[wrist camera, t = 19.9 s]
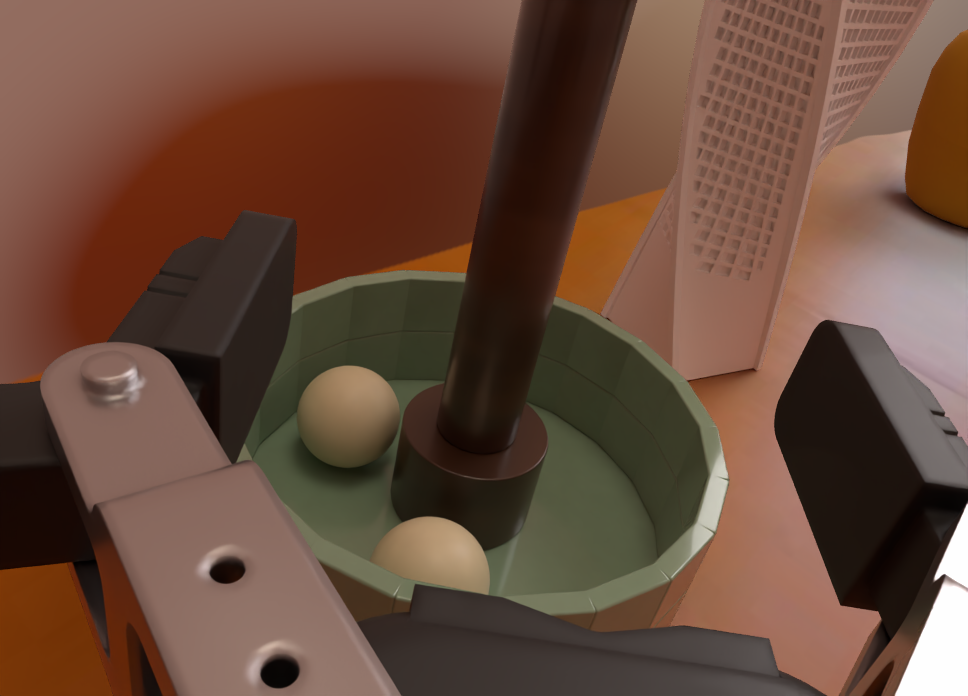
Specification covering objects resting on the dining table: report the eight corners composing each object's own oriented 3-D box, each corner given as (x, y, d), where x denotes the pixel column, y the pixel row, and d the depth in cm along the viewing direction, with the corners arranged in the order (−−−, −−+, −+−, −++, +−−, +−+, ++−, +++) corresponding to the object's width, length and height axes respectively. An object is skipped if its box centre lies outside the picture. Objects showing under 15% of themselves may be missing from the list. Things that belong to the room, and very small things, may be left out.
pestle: (364, 511, 25) (467, -183, 15) (429, 432, 28) (549, -174, 18) (495, 575, 24) (703, -125, 14) (546, 484, 27) (742, -127, 17)
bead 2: (335, 625, 22) (344, 534, 20) (412, 561, 24) (425, 474, 22) (431, 695, 20) (448, 603, 19) (502, 619, 23) (523, 532, 21)
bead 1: (272, 411, 27) (311, 336, 25) (359, 424, 29) (400, 354, 27) (291, 484, 25) (335, 407, 23) (384, 493, 26) (430, 421, 25)
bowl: (100, 582, 22) (84, 443, 19) (367, 338, 33) (382, 229, 30) (596, 851, 19) (664, 732, 16) (706, 480, 30) (758, 372, 27)
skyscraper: (564, 299, 39) (806, -544, 23) (685, 284, 42) (968, -456, 26) (664, 405, 33) (1072, -601, 18) (794, 378, 37) (1230, -481, 21)
